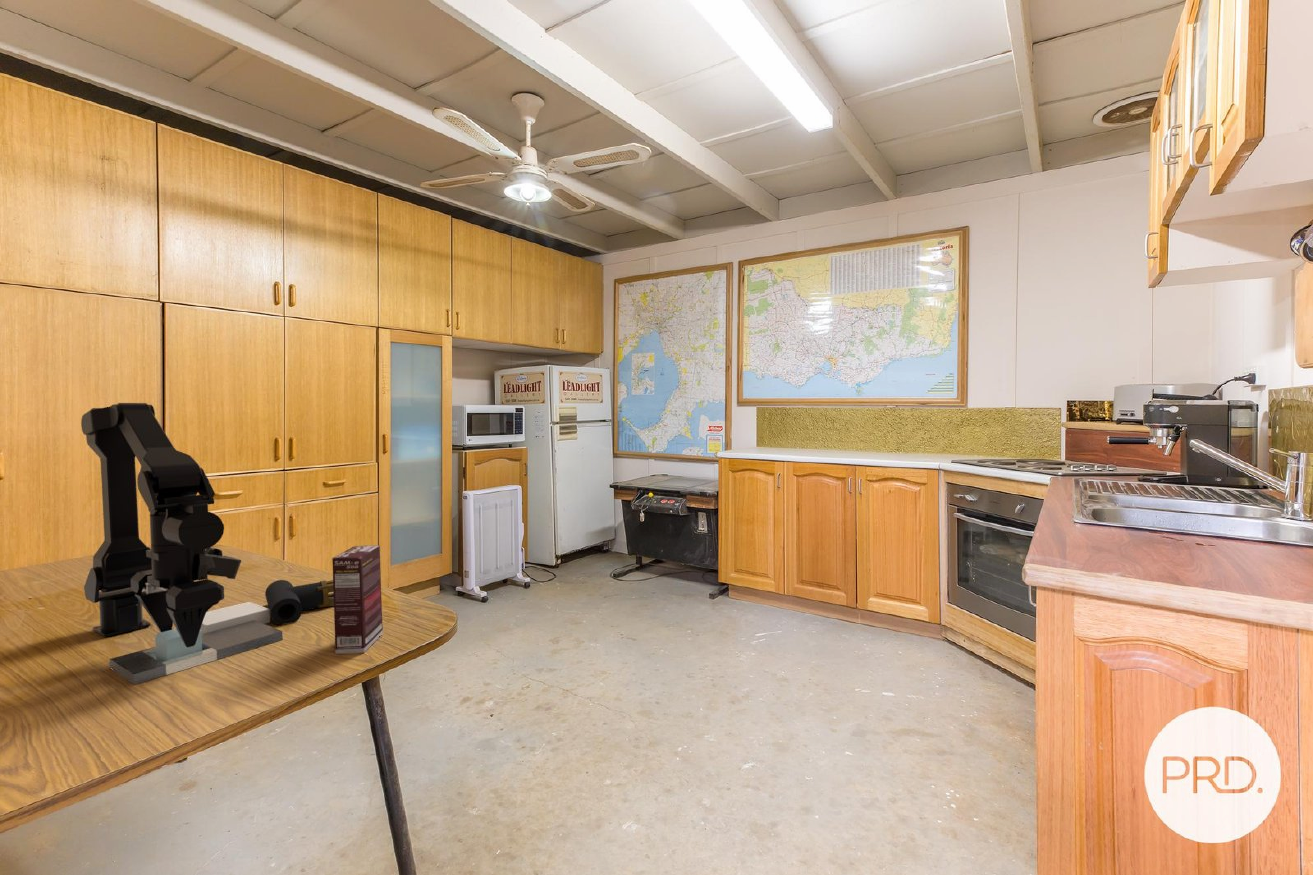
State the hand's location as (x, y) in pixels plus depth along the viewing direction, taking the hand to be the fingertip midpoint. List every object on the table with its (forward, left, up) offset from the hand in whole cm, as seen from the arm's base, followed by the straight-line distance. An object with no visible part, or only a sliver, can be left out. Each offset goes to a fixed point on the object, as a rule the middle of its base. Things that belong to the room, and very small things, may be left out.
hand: (178, 640), depth 94 cm
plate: (0, +3, -3) cm, 4 cm away
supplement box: (+18, +19, -3) cm, 26 cm away
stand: (-10, +11, -3) cm, 15 cm away
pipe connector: (-9, +23, -4) cm, 25 cm away
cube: (0, 0, -3) cm, 3 cm away
